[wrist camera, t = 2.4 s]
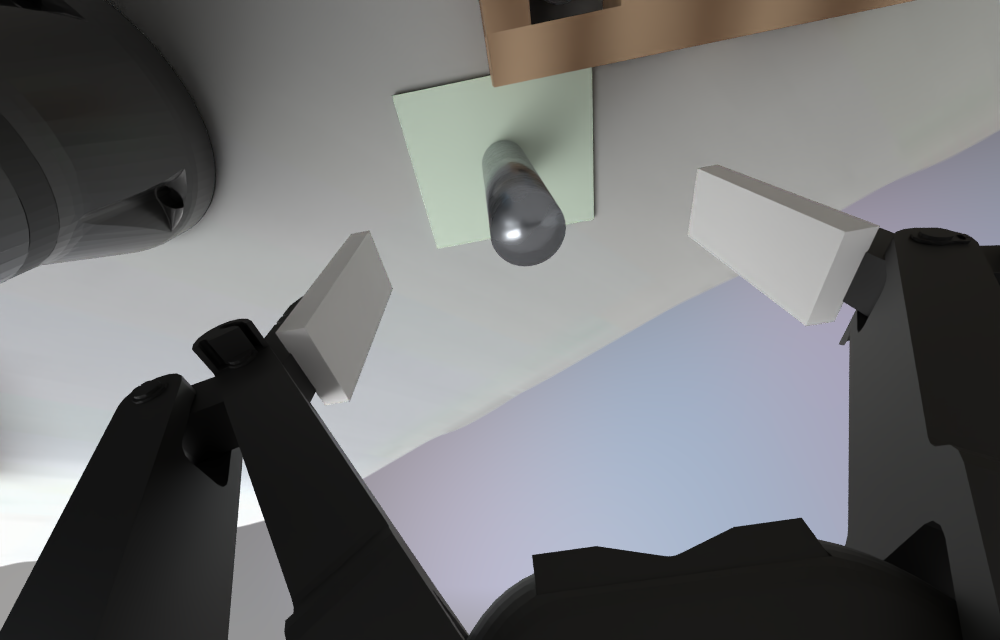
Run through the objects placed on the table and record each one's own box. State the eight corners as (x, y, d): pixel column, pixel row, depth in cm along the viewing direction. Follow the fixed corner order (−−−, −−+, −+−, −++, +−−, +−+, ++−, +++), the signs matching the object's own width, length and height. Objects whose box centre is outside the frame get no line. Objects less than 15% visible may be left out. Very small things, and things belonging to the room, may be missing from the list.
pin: (486, 191, 25) (497, 271, 15) (477, 144, 23) (483, 201, 13) (528, 183, 24) (567, 258, 15) (523, 135, 23) (563, 186, 13)
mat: (437, 246, 27) (437, 248, 27) (393, 95, 21) (391, 96, 21) (592, 217, 27) (593, 219, 26) (590, 54, 21) (591, 54, 20)
